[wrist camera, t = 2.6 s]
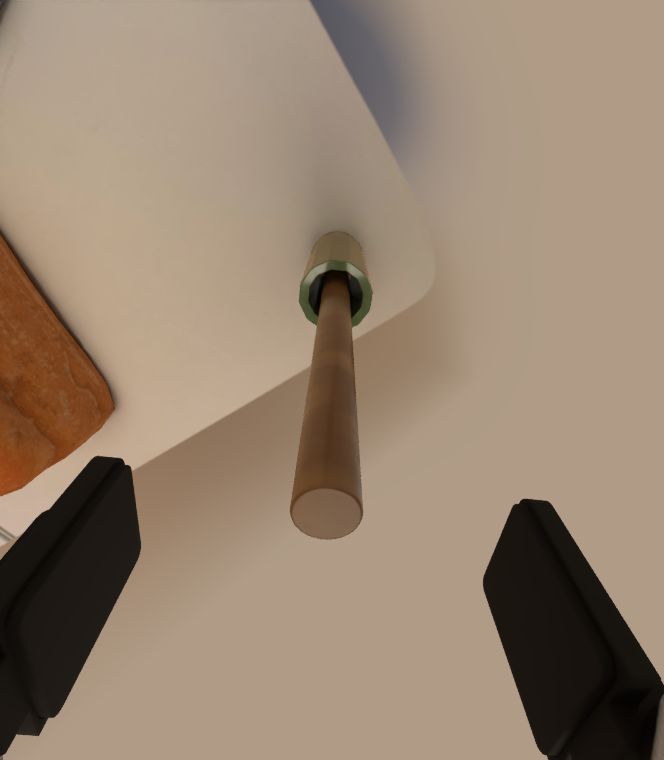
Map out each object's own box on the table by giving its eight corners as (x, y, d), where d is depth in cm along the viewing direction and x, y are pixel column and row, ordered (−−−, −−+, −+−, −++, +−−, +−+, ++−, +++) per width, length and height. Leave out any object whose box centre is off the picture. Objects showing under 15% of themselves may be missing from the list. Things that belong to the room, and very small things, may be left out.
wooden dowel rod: (352, 251, 36) (381, 492, 10) (349, 271, 37) (369, 545, 11) (324, 247, 36) (279, 481, 10) (322, 268, 37) (275, 536, 11)
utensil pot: (366, 234, 36) (377, 265, 26) (359, 287, 38) (365, 335, 28) (313, 228, 36) (302, 256, 26) (309, 281, 38) (296, 327, 28)
